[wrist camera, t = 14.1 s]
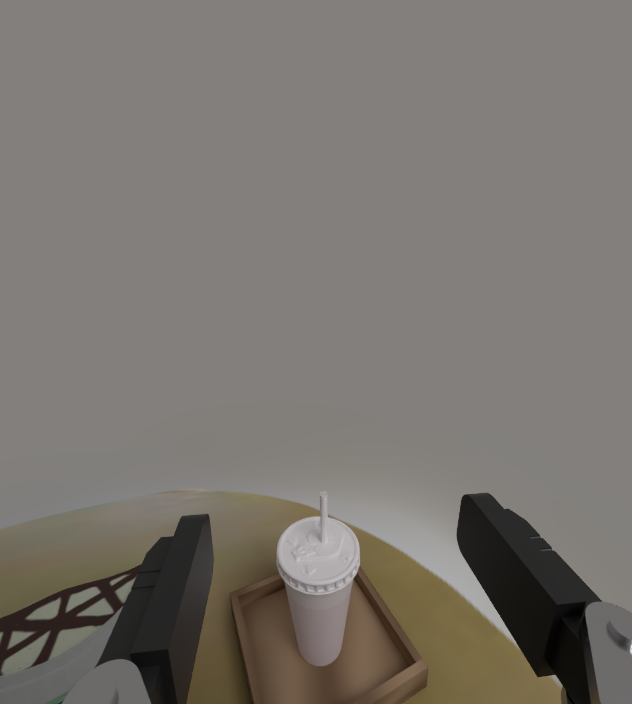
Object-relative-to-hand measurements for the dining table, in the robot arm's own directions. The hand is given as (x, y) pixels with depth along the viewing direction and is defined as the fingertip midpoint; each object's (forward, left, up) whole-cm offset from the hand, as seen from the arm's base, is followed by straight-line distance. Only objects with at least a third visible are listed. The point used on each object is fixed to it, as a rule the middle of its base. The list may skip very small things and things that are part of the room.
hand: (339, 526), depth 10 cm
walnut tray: (+4, +11, -23) cm, 26 cm away
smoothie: (+4, +11, -23) cm, 26 cm away
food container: (-13, +13, -23) cm, 30 cm away
